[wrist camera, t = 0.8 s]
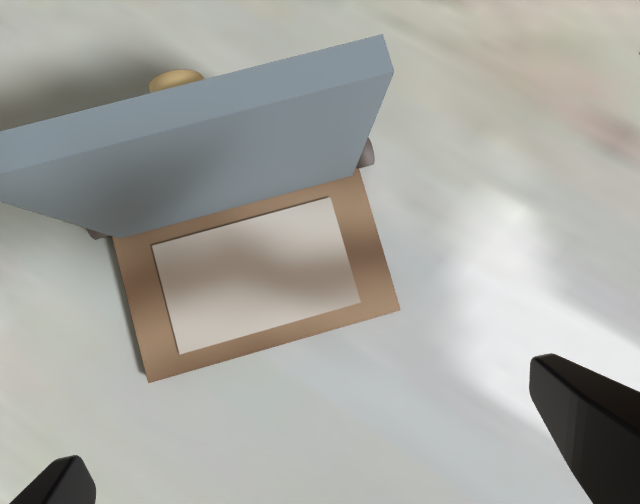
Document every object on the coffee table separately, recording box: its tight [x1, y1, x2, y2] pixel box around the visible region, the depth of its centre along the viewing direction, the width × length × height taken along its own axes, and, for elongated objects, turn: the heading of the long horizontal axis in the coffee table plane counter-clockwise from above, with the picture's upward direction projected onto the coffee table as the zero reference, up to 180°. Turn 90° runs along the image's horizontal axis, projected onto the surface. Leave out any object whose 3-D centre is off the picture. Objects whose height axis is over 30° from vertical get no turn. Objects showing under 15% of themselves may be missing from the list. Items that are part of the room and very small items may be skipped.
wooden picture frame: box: [87, 138, 400, 383], centre depth 26 cm, size 10×16×2 cm, turn 106°
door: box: [0, 34, 394, 239], centre depth 19 cm, size 2×13×12 cm, turn 106°
